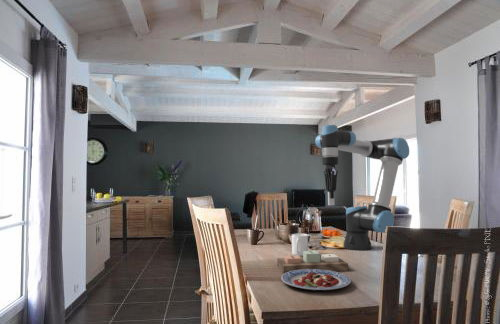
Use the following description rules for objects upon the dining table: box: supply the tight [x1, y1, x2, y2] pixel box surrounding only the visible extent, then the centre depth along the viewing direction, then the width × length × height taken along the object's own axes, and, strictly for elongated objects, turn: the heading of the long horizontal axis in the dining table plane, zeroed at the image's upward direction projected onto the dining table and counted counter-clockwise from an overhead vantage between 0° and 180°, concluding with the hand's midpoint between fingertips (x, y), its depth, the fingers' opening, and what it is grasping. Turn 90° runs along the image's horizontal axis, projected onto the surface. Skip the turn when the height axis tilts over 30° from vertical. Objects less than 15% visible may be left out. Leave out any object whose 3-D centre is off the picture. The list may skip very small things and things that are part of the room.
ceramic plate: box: [280, 269, 352, 291], centre depth 130 cm, size 26×26×3 cm
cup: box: [291, 233, 309, 257], centre depth 177 cm, size 8×12×10 cm
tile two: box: [302, 250, 321, 263], centre depth 152 cm, size 6×6×4 cm
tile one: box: [320, 253, 340, 262], centre depth 153 cm, size 6×6×4 cm
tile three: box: [284, 254, 301, 264], centre depth 151 cm, size 6×6×4 cm
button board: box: [276, 256, 349, 274], centre depth 152 cm, size 28×14×3 cm, turn 96°
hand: (331, 205), depth 167 cm, fingers closed
